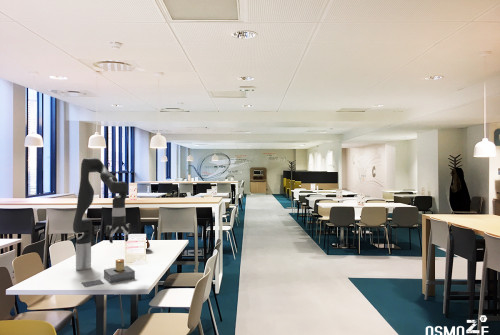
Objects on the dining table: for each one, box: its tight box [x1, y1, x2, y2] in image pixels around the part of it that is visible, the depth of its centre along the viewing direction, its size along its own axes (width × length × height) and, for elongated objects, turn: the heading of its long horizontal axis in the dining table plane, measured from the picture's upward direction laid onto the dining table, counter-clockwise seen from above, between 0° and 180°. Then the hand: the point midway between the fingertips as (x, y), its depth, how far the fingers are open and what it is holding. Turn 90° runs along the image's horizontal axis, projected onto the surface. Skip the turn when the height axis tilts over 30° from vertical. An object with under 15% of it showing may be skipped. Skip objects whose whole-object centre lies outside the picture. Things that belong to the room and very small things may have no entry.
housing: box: [103, 265, 136, 284], centre depth 214 cm, size 14×14×5 cm
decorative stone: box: [145, 237, 151, 249], centre depth 293 cm, size 11×21×10 cm, turn 13°
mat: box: [81, 278, 105, 288], centre depth 204 cm, size 10×10×1 cm
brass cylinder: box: [115, 258, 125, 272], centre depth 214 cm, size 5×5×11 cm
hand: (118, 242), depth 214 cm, fingers open, 8 cm apart
